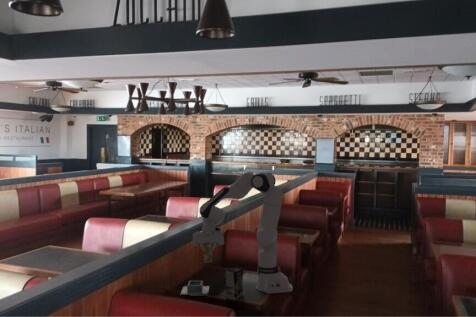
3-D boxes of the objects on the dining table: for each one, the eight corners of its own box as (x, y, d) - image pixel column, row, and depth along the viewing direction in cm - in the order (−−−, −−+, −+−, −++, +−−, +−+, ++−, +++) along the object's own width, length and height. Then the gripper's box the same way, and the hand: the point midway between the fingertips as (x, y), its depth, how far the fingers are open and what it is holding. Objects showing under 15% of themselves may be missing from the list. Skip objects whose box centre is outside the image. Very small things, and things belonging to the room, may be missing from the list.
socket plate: (209, 288, 244) (209, 279, 244) (207, 295, 232) (207, 286, 232) (183, 288, 244) (183, 279, 244) (180, 295, 232) (180, 286, 232)
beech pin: (212, 260, 250) (211, 243, 249) (211, 262, 245) (211, 245, 245) (204, 260, 250) (204, 243, 249) (204, 262, 245) (203, 245, 245)
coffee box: (235, 300, 224) (235, 272, 224) (225, 298, 227) (225, 270, 227) (243, 295, 232) (243, 268, 231) (234, 293, 235) (233, 266, 235)
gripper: (192, 229, 254) (190, 248, 244) (224, 228, 254) (223, 247, 244) (193, 234, 258) (191, 253, 249) (224, 234, 258) (224, 252, 249)
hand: (207, 250), depth 247 cm, fingers closed on beech pin, 4 cm apart
